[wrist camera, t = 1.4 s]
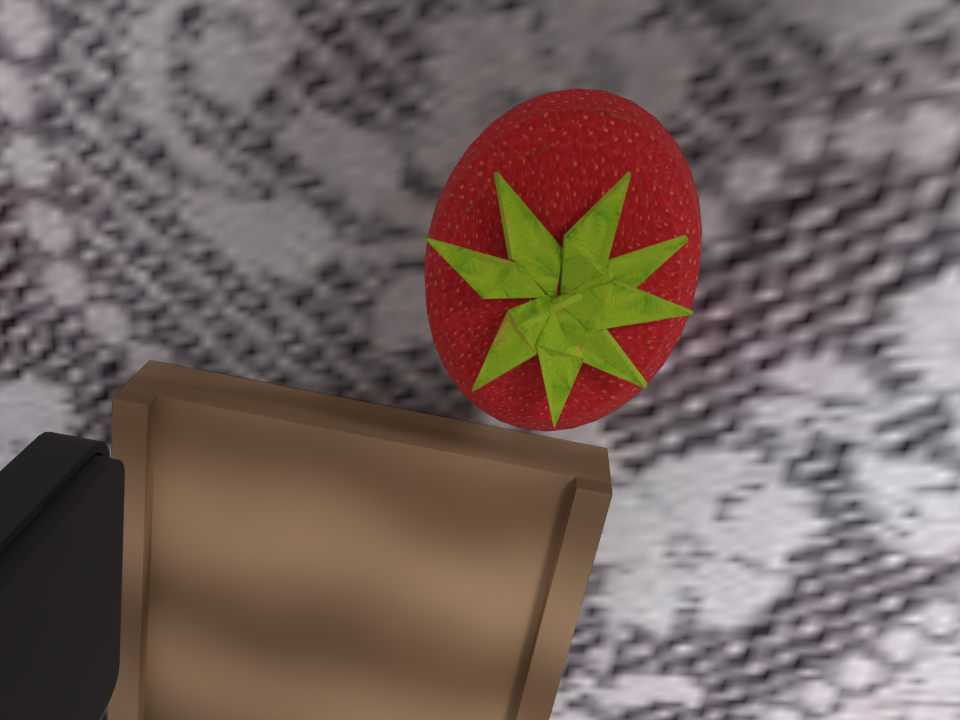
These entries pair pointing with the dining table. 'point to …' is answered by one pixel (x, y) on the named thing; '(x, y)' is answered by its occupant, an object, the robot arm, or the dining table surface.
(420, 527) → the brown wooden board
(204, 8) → the dining table surface
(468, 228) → the strawberry
